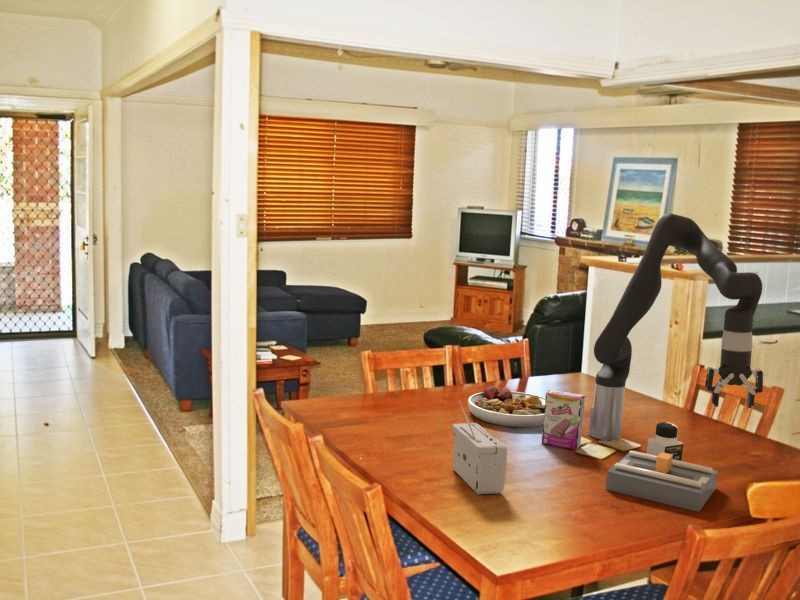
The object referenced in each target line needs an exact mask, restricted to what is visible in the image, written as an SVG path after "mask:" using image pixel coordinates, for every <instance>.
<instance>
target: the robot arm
mask: <svg viewBox="0 0 800 600" xmlns="http://www.w3.org/2000/svg"><path fill="white" fill-rule="evenodd" d="M669 247H673V248H677V249H684V250H686V251H688V252H689V253H691V254H692V255H694V256H695V257H696V261H697V264H698V266H699V268H700V269H701V270H702V271H703V272H704V273H705V274H706V275H707V276H708V277H709V278H711V279H712V280H713V282H714V284H715V286H716V289H718V291H719V293H720V294H721V295H722V296H723V297H724V298H726V299H728V300H733V301H735V300H738V302H737V304H736V305H735V306H732V307H730V308H726V310H725V313H724V318H723V319H724V320H723V321H724V322H723V332H722V333H723V334H722V338H721V351H720V363H719V364H720V365H719V367H718V368H715V367H711V366H709V367H707V369H706V376H705V383H704V388H705V389H706V390H707V391H710V392H711V404H712V405H713V406H714V407H715V408H718V407H719V405H720V404H719V402H720V401H719V400H720V393H719V392H720V391H721V390H722V389H723V388H725V386H726V385H728V386H739V387H740V386H742V385H743V386H744V387H745V389H746V390H747V394H746V395H747V397H746V407H747V409H752V407H754V405H755V399H756V398H755V397H756V394H758V393H763V392H764V391H763V390H764V389H763V388H764V371H762V370H761V369H760V368H756V369H751V364H752V349H753V347H754V345H753V323H754V322H753V321H754V316H755V312H756V311H757V308H758V305H759V302H760V299H761V296H762V292H763V281H762V280H761V277H760V276H759V275H758V274H757V273H755V272H747V271H746V272H738V267H737V265H736V263H735V262H734V261H733V260H732V259H731V258H730V257H729V256H727V255H726V254H725V253H724V252H722V251H721V250H720V249H718V247H716V246H715V244H714V243H713V242H712V241H711V240H710V239H709V238H708V237H707V235H706V233H704V231H703V230H702V229H701V228H700V226H699V225H698V224H697V223H696V222H695V221H694V220H693V219H692V218H689V217H687V216H684V215H679V214H675V213H665V214H664V215H663V214H662V215H661V217H660V218H659V219H658V220H657V222H656V224H655V226H654V229H653V231H652V233H651V235H650V238H649V241H648V243H647V245H646V247H645V251H644V253H643V255H642V258H641V259H640V261H639V263H638V265H637V268H636V269H635V272H634V273H633V275H632V277H631V278H630V280H629V281H628V284H627V286H626V288H625V290H624V292H623V293H622V294H623V295H622V296H621V298H620V300H619V302H618V304H617V305H616V307H615V310H614V311H613V314H612V316H611V318H610V319H609V321H608V322H607V323H606V326H605V327H604V329H603V330H602V331H601V333H600V334H599V336H598V337H597V339H596V341H595V343H594V346H593V354H594V355H593V356H594V357H595V360H596V361H597V362H598V363H600V364H602V366H601V368H600V370H598V372H597V373H596V376H595V381H594V382H595V383H594V391H593V392H594V393H593V394H594V396H593V405H592V406H591V407H590V413H589V414H590V415H589V416H590V417H589V425H588V426H589V427H588V436H590V437H593V438H595V439H598V440H603V441H608V440H614V441H618V440H617V439H619V440H620V439H621V436H622V435H621V434H622V425H623V415H624V406H625V405H624V403H625V392H626V382H627V379H628V377H629V375H630V369H631V362H632V353H633V352H632V351H633V347H632V343H631V340H630V339H629V337H628V336H629V334H630V332H631V331H632V329H634V327H635V326H636V325H637V324H638V323H639V322H640V321H641V320H642V319H643V318H644V316H645V315H646V314H647V313H648V312H649V311H650V309H651V308H653V307H652V306H653V305H654V304H655V301H656V299H658V296H659V295H660V291H661V289H662V261H663V259H664V256H665V254H666V252H667V250H668V248H669ZM717 374H718V375H719V376H720V378H719V379H717V381H716V383H715V384H714V385H713V383H714V378H715V377H716V375H717ZM752 375H753V376H752ZM751 376H752V377H753V378H755V383H754V384H755V386H754V387H753V386H752V384H751V383H750V382H749V381H748V380H749V378H751Z"/></svg>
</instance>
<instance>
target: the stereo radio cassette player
mask: <svg viewBox="0 0 800 600" xmlns="http://www.w3.org/2000/svg"><path fill="white" fill-rule="evenodd" d="M458 403H459V404H460V406H461V411H462V412H463V415H464V418H465V420H466V423H465V422H463V423H461V422H460V423H453V424H452V425H451V432H453V449H452V450H453V452H452V469H453V471H454V472H455V473H456V474H458V476H459V477H460V478H461V479H462V480H463V481H464V482H465V483H466V484H467V485H468V486H469V487H470V489H472V490H473V491H474V492H475V493H476V495H489V494H492V495H493V494H495V495H498V494H500V493H502V492H503V491H504V489H505V483H506V475H507V474H506V473H507V457H508V451H507V449H508V448H507V446H506V445H504V444H503V443H502V442H501V441H500V440H498V439H497V438H496V437H494V435H492V434H491V433H490V432H488V431H487V430H486V429H485V428H484V427H482V426H481V425H480V424H479V423H476V422H470V421H469V419H468V417H467V414H466V412H465V410H464V408H463V406H462V403H461V400H458Z"/></svg>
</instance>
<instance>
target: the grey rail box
mask: <svg viewBox="0 0 800 600" xmlns="http://www.w3.org/2000/svg"><path fill="white" fill-rule="evenodd" d="M656 458H657V456H655V455H650V454H647V452H646V453H645V452H640V451H636V450H629V451H628V453H627V454H626V455H624V456H623V457H622V458H621V459H619V461H618V462H617V463H614V465H613V466H611V468H609V469H608V470H607V472H606V474H607V475H606V483H605V490H607V491H611V492H614V493H619V494H622V495H623V494H624V495H628V496H632V497H637V498H640V499H645V500H648V501H652V502H656V503H660V504H664V505H669V506H673V507H678V508H680V509H681V508H682V509H685V510H688V511H694V512H697V513H700V511H701V510H702V508H703V507H704V506H705V504H706V503H707V501H709V499H710V497H711V496H712V495H713V493H714V492H715V491H716V489H717V482H718V473H719V471H718V470H715V469H713V468H712V467H710V466H704V465H701V464H696V463H692V462H691V463H690V462H686V461H678V460H673V459H672V468H671V470H670V471H669V472H668V473H667V474H665V473H660V472H656V471H655V468H656Z"/></svg>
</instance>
